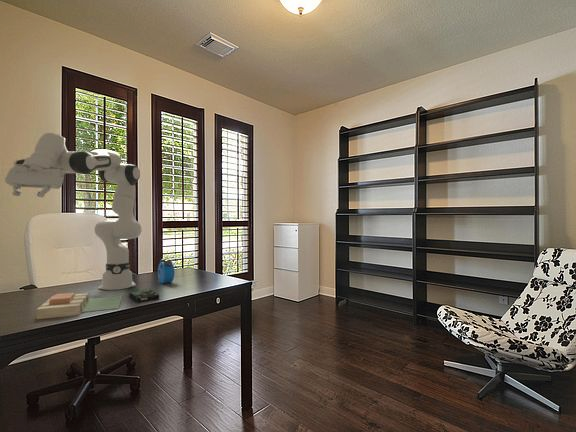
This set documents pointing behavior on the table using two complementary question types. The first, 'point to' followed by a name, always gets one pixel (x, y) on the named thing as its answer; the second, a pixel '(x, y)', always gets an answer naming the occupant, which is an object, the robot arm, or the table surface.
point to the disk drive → (144, 295)
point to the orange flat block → (62, 298)
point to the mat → (102, 304)
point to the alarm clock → (165, 271)
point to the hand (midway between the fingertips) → (27, 195)
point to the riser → (63, 307)
